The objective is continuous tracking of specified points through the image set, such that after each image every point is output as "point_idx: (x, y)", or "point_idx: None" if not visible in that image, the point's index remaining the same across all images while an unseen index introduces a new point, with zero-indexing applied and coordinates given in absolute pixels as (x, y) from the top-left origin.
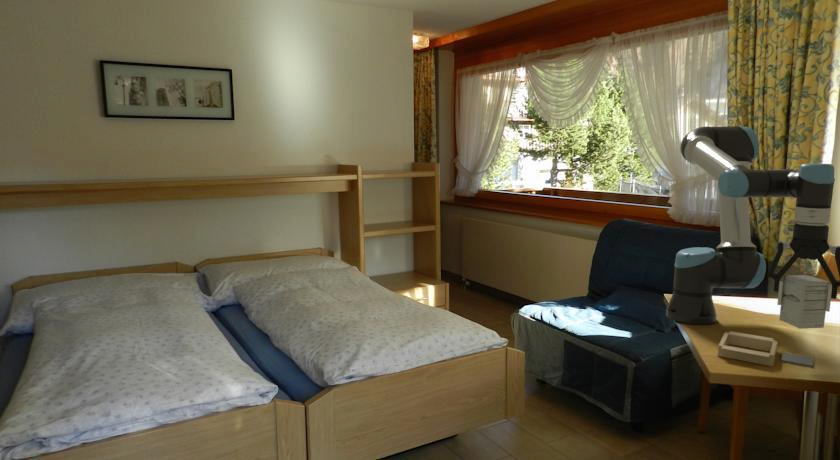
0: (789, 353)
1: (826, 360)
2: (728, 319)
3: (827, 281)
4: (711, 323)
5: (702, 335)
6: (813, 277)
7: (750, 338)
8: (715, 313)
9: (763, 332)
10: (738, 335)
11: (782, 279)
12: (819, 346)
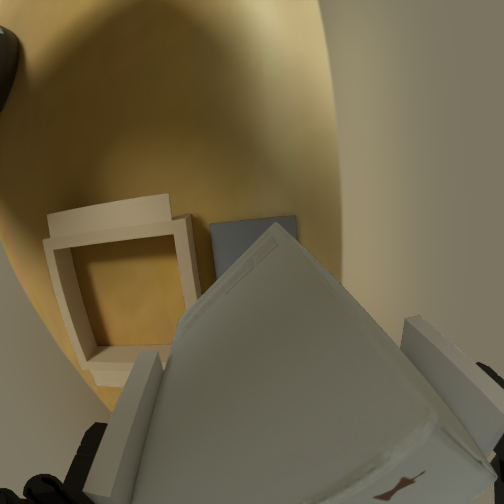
0: (229, 227)
1: (327, 201)
2: (46, 12)
3: (486, 489)
4: (9, 89)
5: (11, 213)
6: (440, 500)
7: (108, 241)
8: (1, 58)
9: (130, 41)
10: (75, 245)
11: (103, 497)
12: (296, 69)
